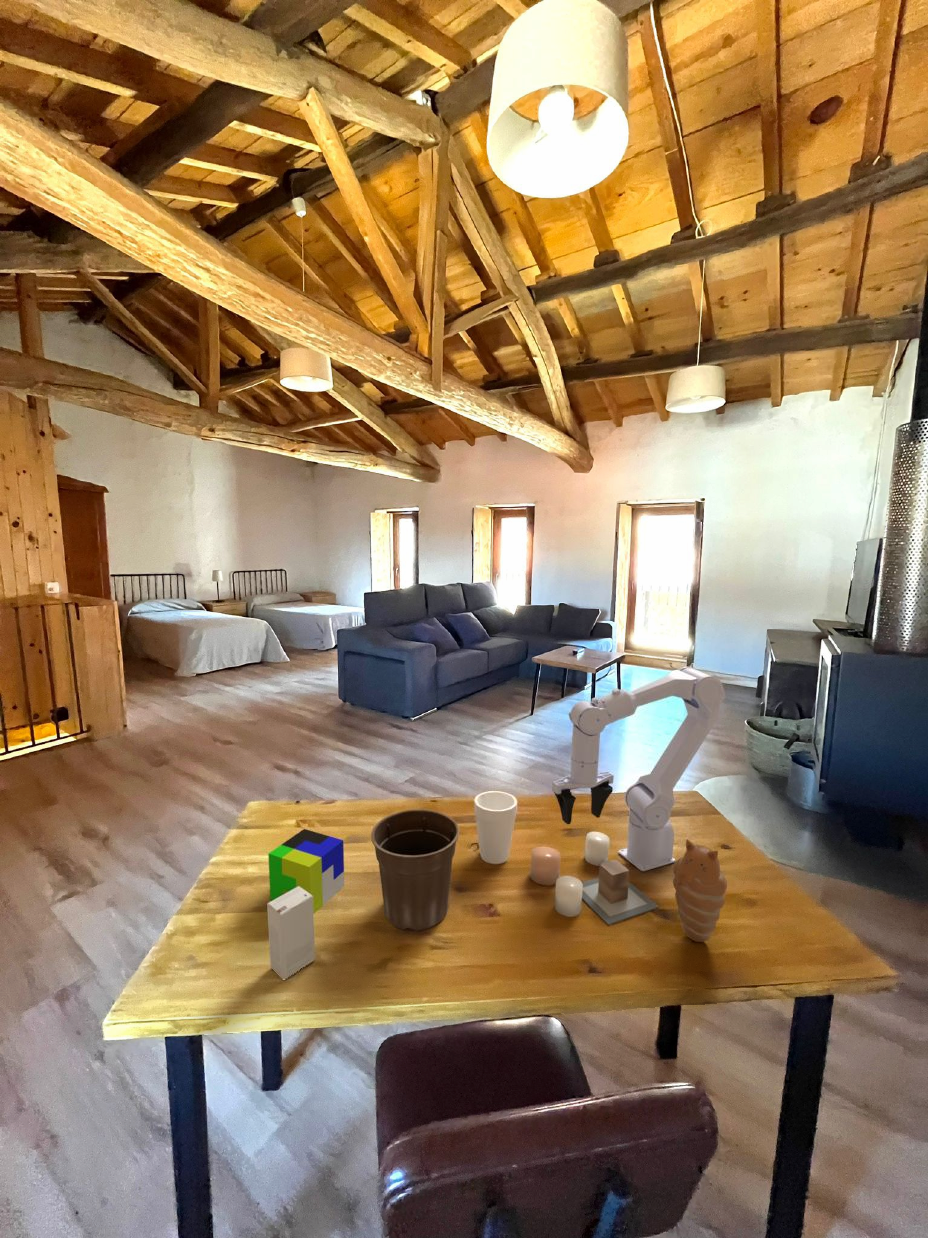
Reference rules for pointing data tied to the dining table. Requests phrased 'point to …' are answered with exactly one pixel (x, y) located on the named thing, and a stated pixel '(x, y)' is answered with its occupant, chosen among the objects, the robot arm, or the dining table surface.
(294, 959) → the skincare box
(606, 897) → the walnut block
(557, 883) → the cream rounded capsule
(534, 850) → the peach rounded blob
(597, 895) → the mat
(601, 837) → the cream rounded cylinder
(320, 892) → the puzzle toy
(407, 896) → the plant pot
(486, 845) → the foam cup
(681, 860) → the cat ice cream
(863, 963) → the dining table surface
